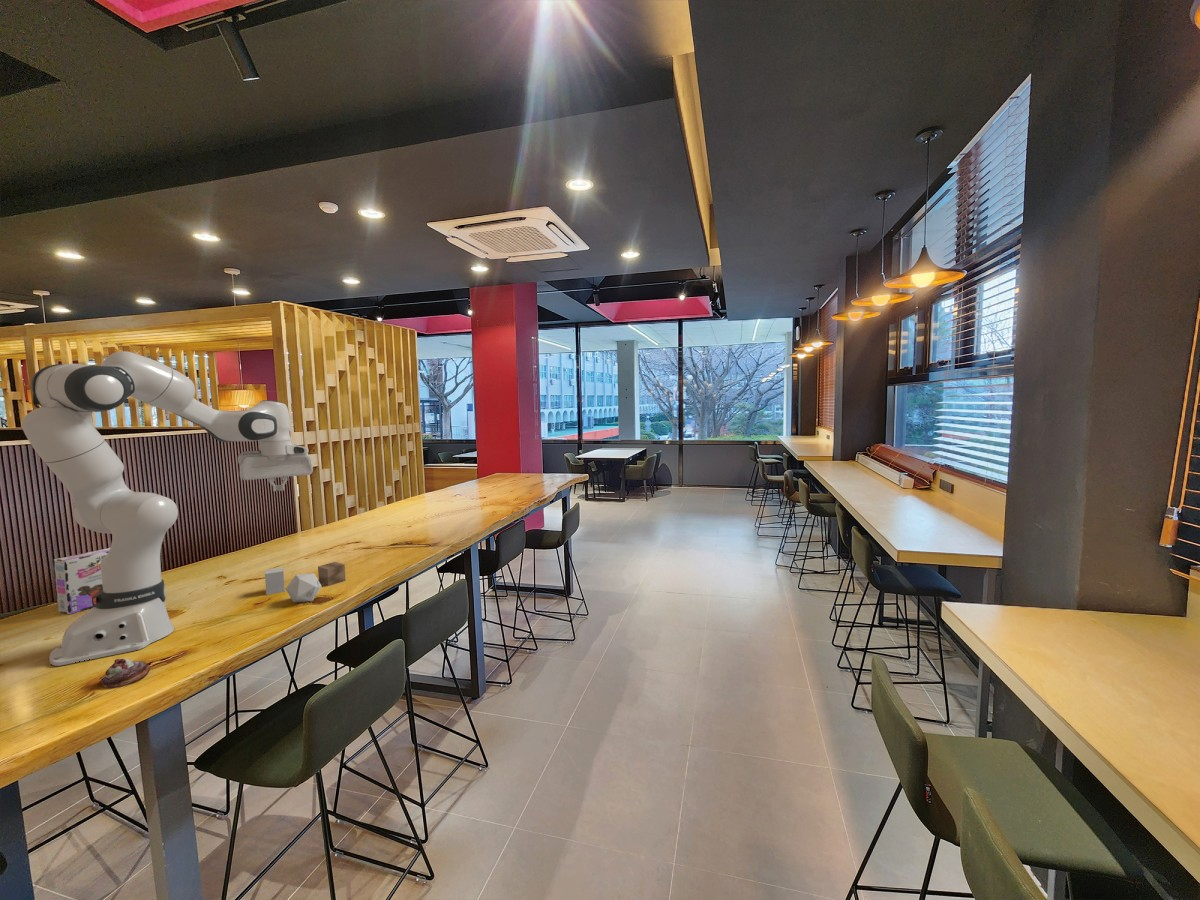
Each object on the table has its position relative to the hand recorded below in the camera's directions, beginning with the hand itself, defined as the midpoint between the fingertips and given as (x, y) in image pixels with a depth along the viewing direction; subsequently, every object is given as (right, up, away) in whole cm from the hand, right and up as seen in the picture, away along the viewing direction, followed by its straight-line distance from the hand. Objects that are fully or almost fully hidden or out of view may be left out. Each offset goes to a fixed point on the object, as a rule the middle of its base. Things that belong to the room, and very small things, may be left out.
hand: (278, 490), depth 160 cm
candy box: (-50, -35, -11) cm, 62 cm away
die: (+14, -34, -9) cm, 38 cm away
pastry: (+2, -38, -53) cm, 65 cm away
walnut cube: (+14, -33, +7) cm, 36 cm away
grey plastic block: (0, -33, -1) cm, 33 cm away
